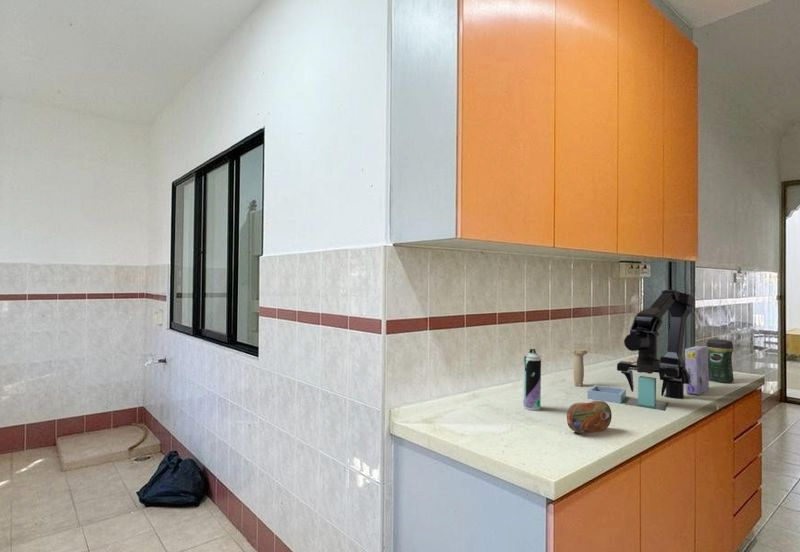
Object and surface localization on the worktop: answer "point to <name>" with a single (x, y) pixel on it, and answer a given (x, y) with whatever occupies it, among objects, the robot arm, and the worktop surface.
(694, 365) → the cake pan box
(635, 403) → the ball stud
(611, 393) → the bin
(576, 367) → the handle
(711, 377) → the coffee jar
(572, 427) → the tin
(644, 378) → the turquoise rectangular block
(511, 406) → the worktop surface
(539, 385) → the spray can
